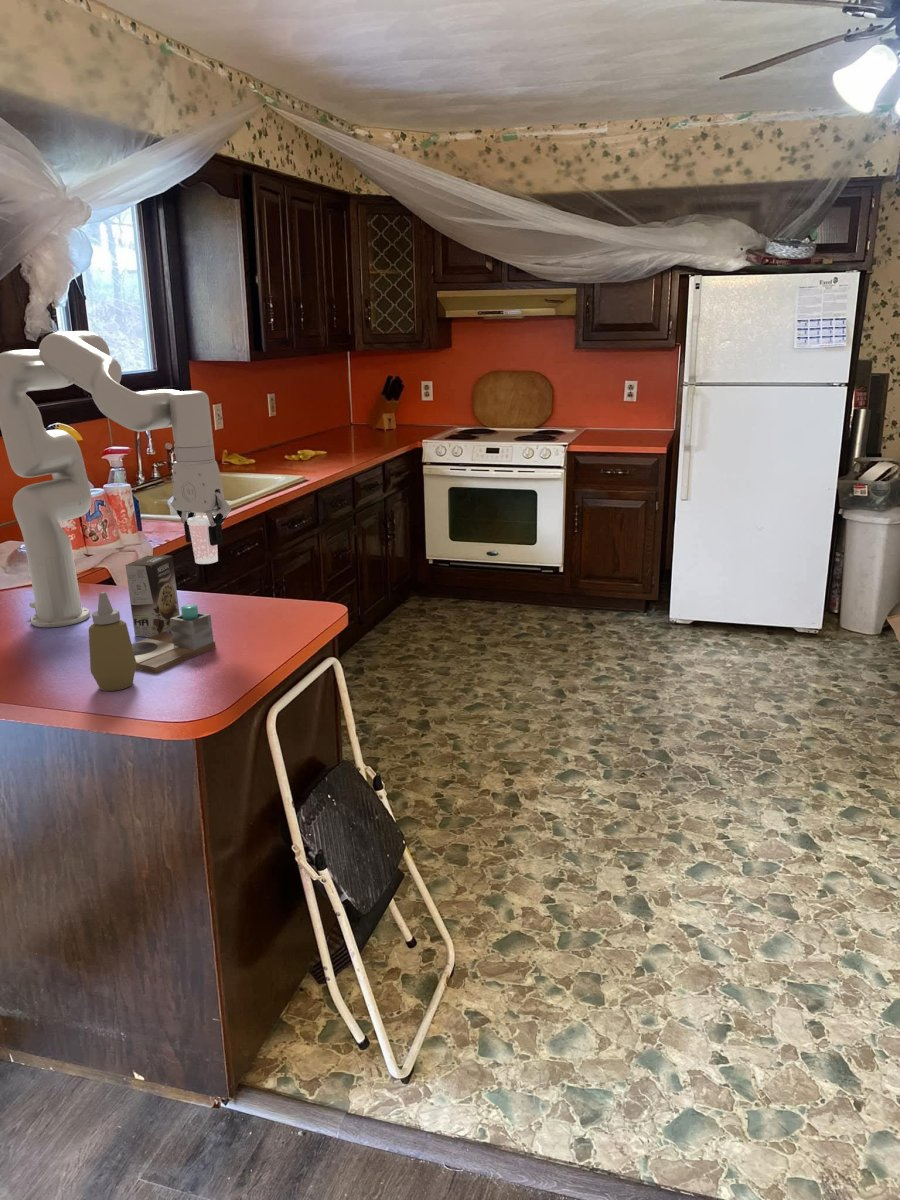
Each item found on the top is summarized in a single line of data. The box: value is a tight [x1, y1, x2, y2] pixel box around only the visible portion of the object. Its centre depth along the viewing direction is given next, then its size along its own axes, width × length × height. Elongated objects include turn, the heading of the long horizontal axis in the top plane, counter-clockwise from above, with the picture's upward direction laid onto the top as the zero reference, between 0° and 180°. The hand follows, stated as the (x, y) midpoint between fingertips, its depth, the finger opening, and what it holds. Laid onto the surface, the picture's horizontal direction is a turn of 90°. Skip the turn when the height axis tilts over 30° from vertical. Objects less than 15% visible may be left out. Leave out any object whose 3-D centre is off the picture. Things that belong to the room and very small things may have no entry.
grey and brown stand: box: [131, 611, 217, 674], centre depth 181 cm, size 15×16×7 cm
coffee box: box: [125, 554, 181, 638], centre depth 194 cm, size 9×6×16 cm
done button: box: [180, 604, 199, 620], centre depth 182 cm, size 3×3×3 cm
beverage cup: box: [187, 513, 219, 565], centre depth 183 cm, size 6×6×14 cm
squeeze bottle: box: [88, 591, 137, 692], centre depth 164 cm, size 8×8×18 cm
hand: (204, 541), depth 183 cm, fingers closed on beverage cup, 6 cm apart
